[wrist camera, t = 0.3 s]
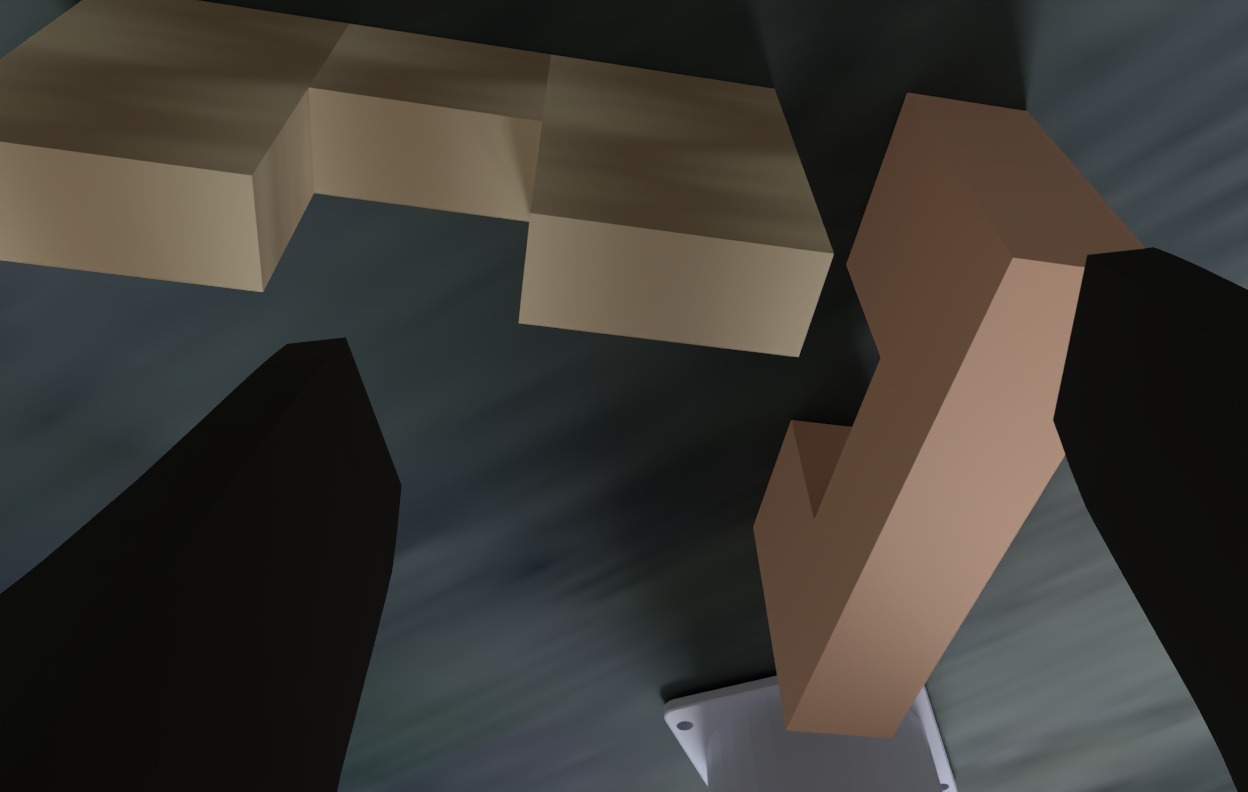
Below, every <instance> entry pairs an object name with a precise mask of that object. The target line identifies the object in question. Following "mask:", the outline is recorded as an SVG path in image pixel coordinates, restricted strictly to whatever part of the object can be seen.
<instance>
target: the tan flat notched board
mask: <svg viewBox="0 0 1248 792" xmlns="http://www.w3.org/2000/svg"><path fill="white" fill-rule="evenodd" d="M1144 248H1145V247H1144V246H1143V245H1142V244H1141V243H1140V241H1139V240H1138V239H1137V238H1136V237H1135V236H1134V234H1133V233H1132V232H1131V231H1130V230H1129V229H1128V227H1127V226H1126V225H1125V224H1124V223H1123V222H1122V220H1121V219H1120V218H1119V217H1118V216H1117V215H1116V213H1115V212H1114V211H1113V210H1112V209H1111V208H1110V207H1109V205H1108V204H1107V203H1106V202H1105V201H1104V200H1103V198H1102V197H1101V196H1100V195H1099V194H1098V193H1097V191H1096V190H1095V189H1094V188H1093V187H1092V186H1091V184H1090V183H1089V182H1088V181H1087V180H1086V179H1085V178H1084V176H1083V175H1082V174H1081V173H1080V172H1079V171H1078V169H1077V168H1076V167H1075V166H1074V165H1073V164H1072V162H1071V161H1070V160H1069V159H1068V158H1067V157H1066V155H1065V154H1064V153H1063V152H1062V151H1061V150H1060V149H1059V147H1058V146H1057V145H1056V144H1055V143H1054V142H1053V140H1052V139H1051V138H1050V137H1049V136H1048V135H1047V133H1046V132H1045V131H1044V130H1043V129H1042V128H1041V126H1040V125H1039V124H1038V123H1037V122H1036V121H1035V119H1034V118H1033V117H1032V116H1031V115H1030V114H1029V113H1028V111H1024V110H1017V109H1011V108H1004V107H998V106H991V105H985V104H979V103H972V102H966V101H959V100H953V99H946V98H940V97H934V96H927V95H921V94H914V93H908V92H907V94H906V97H905V100H904V103H903V106H902V109H901V111H900V114H899V117H898V120H897V123H896V125H895V128H894V131H893V134H892V137H891V140H890V142H889V145H888V148H887V151H886V154H885V156H884V159H883V162H882V165H881V168H880V171H879V173H878V176H877V179H876V182H875V185H874V187H873V190H872V193H871V196H870V199H869V202H868V204H867V207H866V210H865V213H864V216H863V218H862V221H861V224H860V227H859V230H858V233H857V235H856V238H855V241H854V244H853V247H852V250H851V252H850V255H849V258H848V261H847V264H846V266H847V269H848V271H849V274H850V277H851V279H852V282H853V285H854V287H855V290H856V293H857V295H858V298H859V301H860V303H861V306H862V309H863V311H864V314H865V317H866V320H867V322H868V325H869V328H870V330H871V333H872V336H873V338H874V341H875V344H876V346H877V349H878V352H879V354H880V357H881V358H880V361H879V363H878V365H877V368H876V370H875V373H874V375H873V378H872V380H871V382H870V385H869V387H868V390H867V392H866V395H865V397H864V400H863V402H862V404H861V407H860V409H859V412H858V414H857V417H856V419H855V421H854V424H853V426H852V427H848V426H840V425H831V424H822V423H813V422H805V421H796V420H791V421H790V424H789V427H788V430H787V433H786V436H785V438H784V441H783V444H782V447H781V450H780V452H779V455H778V458H777V461H776V464H775V467H774V469H773V472H772V475H771V478H770V481H769V483H768V486H767V489H766V492H765V495H764V498H763V500H762V503H761V506H760V509H759V512H758V514H757V517H756V520H755V523H754V526H753V530H754V536H755V542H756V548H757V555H758V561H759V567H760V573H761V579H762V585H763V592H764V598H765V604H766V610H767V616H768V623H769V629H770V635H771V641H772V647H773V654H774V660H775V666H776V672H777V678H778V685H779V691H780V697H781V703H782V709H783V716H784V722H785V728H786V730H787V731H800V732H813V733H826V734H839V735H852V736H865V737H878V738H892V737H893V735H894V733H895V732H896V730H897V728H898V727H899V725H900V724H901V722H902V720H903V719H904V717H905V715H906V714H907V712H908V710H909V709H910V707H911V706H912V704H913V702H914V701H915V699H916V697H917V696H918V694H919V693H920V691H921V689H922V688H923V686H924V684H925V683H926V681H927V679H928V678H929V676H930V675H931V673H932V671H933V670H934V668H935V666H936V665H937V663H938V661H939V660H940V658H941V657H942V655H943V653H944V652H945V650H946V648H947V647H948V645H949V644H950V642H951V640H952V639H953V637H954V635H955V634H956V632H957V630H958V629H959V627H960V626H961V624H962V622H963V621H964V619H965V617H966V616H967V614H968V612H969V611H970V609H971V608H972V606H973V604H974V603H975V601H976V599H977V598H978V596H979V595H980V593H981V591H982V590H983V588H984V586H985V585H986V583H987V581H988V580H989V578H990V577H991V575H992V573H993V572H994V570H995V568H996V567H997V565H998V563H999V562H1000V560H1001V559H1002V557H1003V555H1004V554H1005V552H1006V550H1007V549H1008V547H1009V546H1010V544H1011V542H1012V541H1013V539H1014V537H1015V536H1016V534H1017V532H1018V531H1019V529H1020V528H1021V526H1022V524H1023V523H1024V521H1025V519H1026V518H1027V516H1028V514H1029V513H1030V511H1031V510H1032V508H1033V506H1034V505H1035V503H1036V501H1037V500H1038V498H1039V497H1040V495H1041V493H1042V492H1043V490H1044V488H1045V487H1046V485H1047V483H1048V482H1049V480H1050V479H1051V477H1052V475H1053V474H1054V472H1055V470H1056V469H1057V467H1058V465H1059V464H1060V462H1061V461H1062V459H1063V457H1064V456H1065V452H1064V449H1063V446H1062V444H1061V441H1060V438H1059V435H1058V433H1057V430H1056V427H1055V424H1054V422H1053V417H1054V412H1055V408H1056V403H1057V398H1058V393H1059V388H1060V383H1061V379H1062V374H1063V369H1064V364H1065V359H1066V355H1067V350H1068V345H1069V340H1070V335H1071V331H1072V326H1073V321H1074V316H1075V311H1076V306H1077V302H1078V297H1079V292H1080V287H1081V282H1082V278H1083V273H1084V268H1085V263H1086V258H1087V255H1090V254H1099V253H1108V252H1117V251H1126V250H1135V249H1144Z"/></svg>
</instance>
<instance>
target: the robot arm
mask: <svg viewBox="0 0 1248 792" xmlns="http://www.w3.org/2000/svg"><path fill="white" fill-rule="evenodd" d="M1053 422H1054V424H1055V427H1056V430H1057V433H1058V435H1059V438H1060V441H1061V444H1062V446H1063V449H1064V452H1065V455H1066V458H1067V460H1068V463H1069V466H1070V469H1071V471H1072V474H1073V476H1074V479H1075V481H1076V484H1077V486H1078V489H1079V491H1080V493H1081V496H1082V498H1083V501H1084V503H1085V506H1086V508H1087V510H1088V512H1089V514H1090V515H1091V517H1092V519H1093V521H1094V523H1095V525H1096V527H1097V529H1098V530H1099V532H1100V534H1101V536H1102V538H1103V539H1104V541H1105V543H1106V545H1107V547H1108V548H1109V550H1110V552H1111V554H1112V556H1113V558H1114V559H1115V561H1116V563H1117V565H1118V567H1119V568H1120V570H1121V572H1122V574H1123V576H1124V577H1125V579H1126V581H1127V583H1128V584H1129V586H1130V588H1131V590H1132V592H1133V593H1134V595H1135V597H1136V599H1137V600H1138V602H1139V604H1140V606H1141V607H1142V609H1143V611H1144V613H1145V615H1146V616H1147V618H1148V620H1149V622H1150V623H1151V625H1152V627H1153V629H1154V630H1155V632H1156V634H1157V636H1158V638H1159V639H1160V641H1161V643H1162V645H1163V646H1164V648H1165V650H1166V652H1167V653H1168V655H1169V657H1170V659H1171V661H1172V662H1173V664H1174V666H1175V668H1176V669H1177V671H1178V673H1179V675H1180V676H1181V678H1182V680H1183V682H1184V684H1185V685H1186V687H1187V689H1188V691H1189V692H1190V694H1191V696H1192V698H1193V699H1194V701H1195V703H1196V705H1197V707H1198V709H1199V711H1200V713H1201V715H1202V717H1203V719H1204V721H1205V723H1206V724H1207V726H1208V728H1209V730H1210V732H1211V734H1212V736H1213V738H1214V740H1215V742H1216V744H1217V746H1218V748H1219V750H1220V752H1221V754H1222V757H1223V759H1224V761H1225V763H1226V766H1227V768H1228V770H1229V773H1230V775H1231V777H1232V780H1233V782H1234V784H1235V787H1236V789H1237V791H1238V792H1248V290H1247V289H1245V288H1243V287H1241V286H1239V285H1237V284H1235V283H1233V282H1231V281H1228V280H1226V279H1224V278H1222V277H1220V276H1218V275H1216V274H1214V273H1212V272H1210V271H1208V270H1206V269H1204V268H1201V267H1199V266H1197V265H1195V264H1193V263H1191V262H1188V261H1186V260H1184V259H1182V258H1179V257H1177V256H1175V255H1172V254H1170V253H1167V252H1165V251H1162V250H1160V249H1157V248H1154V247H1153V248H1144V249H1135V250H1126V251H1117V252H1108V253H1099V254H1090V255H1087V258H1086V263H1085V268H1084V273H1083V278H1082V282H1081V287H1080V292H1079V297H1078V302H1077V306H1076V311H1075V316H1074V321H1073V326H1072V331H1071V335H1070V340H1069V345H1068V350H1067V355H1066V359H1065V364H1064V369H1063V374H1062V379H1061V383H1060V388H1059V393H1058V398H1057V403H1056V408H1055V412H1054V417H1053ZM400 495H401V483H400V480H399V477H398V475H397V472H396V469H395V467H394V464H393V462H392V459H391V456H390V454H389V451H388V448H387V446H386V443H385V440H384V438H383V435H382V432H381V430H380V427H379V424H378V422H377V419H376V416H375V414H374V411H373V409H372V406H371V403H370V401H369V398H368V395H367V393H366V390H365V387H364V385H363V382H362V379H361V377H360V374H359V371H358V369H357V366H356V363H355V361H354V358H353V356H352V353H351V350H350V348H349V345H348V342H347V340H346V338H337V339H328V340H319V341H310V342H301V343H292V344H286V345H285V346H284V347H283V348H281V349H280V350H279V351H277V352H276V353H275V354H274V355H272V356H271V357H270V358H269V359H268V360H267V361H265V362H264V363H263V364H262V365H261V366H260V367H259V368H257V369H256V370H255V371H254V372H253V373H252V374H251V375H250V376H249V377H247V378H246V379H245V380H244V381H243V382H242V383H241V384H240V385H239V386H238V387H237V388H236V389H234V390H233V391H232V392H231V393H230V394H229V395H228V396H227V397H226V398H225V399H224V400H223V401H222V402H221V403H220V404H218V405H217V406H216V407H215V408H214V409H213V410H212V411H211V412H210V413H209V414H208V415H207V416H206V417H205V418H204V419H203V420H201V421H200V422H199V423H198V424H197V425H196V426H195V427H194V428H193V429H192V430H191V431H190V432H188V433H187V434H186V435H185V436H184V437H183V438H182V439H181V440H180V441H179V442H178V443H177V444H176V445H174V446H173V447H172V448H171V449H170V450H169V451H168V452H167V453H166V454H165V455H164V456H163V457H161V458H160V459H159V460H158V461H157V462H156V463H155V464H154V465H153V466H152V467H151V468H150V469H149V470H147V471H146V472H145V473H144V474H143V475H142V476H141V477H140V478H139V479H138V480H136V481H135V482H134V483H133V484H132V485H131V486H130V487H128V488H127V489H126V490H125V491H124V492H123V493H121V494H120V495H119V496H118V497H117V498H116V499H114V500H113V501H112V502H111V503H110V504H109V505H107V506H106V507H105V508H104V509H103V510H102V511H100V512H99V513H98V514H97V515H96V516H95V517H93V518H92V519H91V520H90V521H89V522H88V523H86V524H85V525H84V526H83V527H82V528H81V529H79V530H78V531H77V532H76V533H75V534H74V535H72V536H71V537H70V538H69V539H68V540H67V541H65V542H64V543H63V544H62V545H61V546H60V547H58V548H57V549H56V550H55V551H54V552H53V553H51V554H50V555H49V556H48V557H47V558H46V559H44V560H43V561H42V562H41V563H39V564H38V565H37V566H36V567H34V568H33V569H32V570H31V571H29V572H28V573H27V574H26V575H24V576H23V577H22V578H21V579H19V580H18V581H17V582H15V583H14V584H13V585H11V586H10V587H9V588H8V589H6V590H5V591H4V592H2V593H1V594H0V792H337V789H338V784H339V780H340V775H341V771H342V767H343V763H344V759H345V755H346V751H347V747H348V744H349V740H350V736H351V732H352V728H353V724H354V720H355V716H356V713H357V709H358V705H359V701H360V697H361V693H362V689H363V685H364V682H365V678H366V674H367V670H368V666H369V662H370V658H371V655H372V651H373V647H374V643H375V639H376V635H377V631H378V627H379V623H380V619H381V615H382V611H383V607H384V603H385V599H386V595H387V591H388V586H389V582H390V578H391V574H392V567H393V560H394V552H395V544H396V536H397V526H398V516H399V505H400ZM663 710H664V719H665V721H666V722H667V724H668V726H669V727H670V729H671V730H672V732H673V733H674V735H675V737H676V738H677V740H678V741H679V743H680V744H681V746H682V747H683V749H684V751H685V752H686V754H687V755H688V757H689V758H690V760H691V762H692V763H693V765H694V766H695V768H696V769H697V771H698V772H699V774H700V776H701V777H702V779H703V780H704V782H705V783H706V785H707V786H708V792H958V790H957V787H956V784H955V780H954V777H953V774H952V771H951V768H950V764H949V761H948V758H947V755H946V752H945V749H944V745H943V742H942V739H941V736H940V733H939V729H938V726H937V723H936V720H935V717H934V713H933V710H932V707H931V704H930V701H929V698H928V694H927V691H926V688H925V685H924V686H923V688H922V689H921V691H920V693H919V694H918V696H917V697H916V699H915V701H914V702H913V704H912V706H911V707H910V709H909V710H908V712H907V714H906V715H905V717H904V719H903V720H902V722H901V724H900V725H899V727H898V728H897V730H896V732H895V733H894V735H893V737H892V738H878V737H865V736H852V735H839V734H826V733H813V732H800V731H787V730H786V728H785V722H784V716H783V709H782V703H781V697H780V691H779V685H778V678H777V676H772V677H768V678H764V679H759V680H755V681H751V682H746V683H742V684H737V685H733V686H729V687H724V688H720V689H716V690H711V691H707V692H703V693H698V694H694V695H690V696H685V697H681V698H676V699H673V700H670V701H669V702H667V703H666V704H665V705H664V708H663Z"/></svg>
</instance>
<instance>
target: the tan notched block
mask: <svg viewBox="0 0 1248 792" xmlns="http://www.w3.org/2000/svg"><path fill="white" fill-rule="evenodd" d="M314 193H318V194H325V195H333V196H340V197H348V198H355V199H363V200H370V201H378V202H385V203H393V204H400V205H408V206H415V207H423V208H430V209H438V210H445V211H453V212H460V213H468V214H475V215H483V216H490V217H498V218H505V219H513V220H520V221H528V222H529V231H528V240H527V249H526V258H525V268H524V277H523V286H522V295H521V305H520V314H519V323H521V324H529V325H538V326H546V327H554V328H562V329H571V330H579V331H587V332H595V333H603V334H612V335H620V336H628V337H636V338H645V339H653V340H661V341H669V342H677V343H686V344H694V345H702V346H710V347H719V348H727V349H735V350H743V351H751V352H760V353H768V354H776V355H784V356H793V357H799V355H800V352H801V349H802V346H803V343H804V340H805V337H806V334H807V331H808V328H809V326H810V323H811V320H812V317H813V314H814V311H815V308H816V305H817V302H818V299H819V296H820V293H821V291H822V288H823V285H824V282H825V279H826V276H827V273H828V270H829V267H830V264H831V261H832V258H833V256H834V252H833V250H832V247H831V244H830V241H829V239H828V236H827V233H826V230H825V227H824V225H823V222H822V219H821V216H820V214H819V211H818V208H817V205H816V202H815V200H814V197H813V194H812V191H811V189H810V186H809V183H808V180H807V177H806V175H805V172H804V169H803V166H802V164H801V161H800V158H799V155H798V153H797V150H796V147H795V144H794V141H793V139H792V136H791V133H790V130H789V128H788V125H787V122H786V119H785V116H784V114H783V111H782V108H781V105H780V103H779V100H778V97H777V94H776V92H775V89H773V88H766V87H760V86H753V85H747V84H740V83H734V82H727V81H721V80H714V79H708V78H701V77H695V76H688V75H682V74H675V73H668V72H662V71H655V70H649V69H642V68H636V67H629V66H623V65H616V64H610V63H603V62H597V61H590V60H584V59H577V58H571V57H564V56H558V55H551V54H545V53H538V52H532V51H525V50H519V49H512V48H505V47H499V46H492V45H486V44H479V43H473V42H466V41H460V40H453V39H447V38H440V37H434V36H427V35H421V34H414V33H408V32H401V31H395V30H388V29H382V28H375V27H369V26H362V25H356V24H349V23H342V22H336V21H329V20H323V19H316V18H310V17H303V16H297V15H290V14H284V13H277V12H271V11H264V10H258V9H251V8H245V7H238V6H232V5H225V4H219V3H212V2H206V1H199V0H82V1H81V2H79V3H78V4H76V5H75V6H74V7H72V8H71V9H69V10H68V11H67V12H65V13H64V14H62V15H61V16H60V17H58V18H57V19H55V20H54V21H53V22H51V23H50V24H48V25H47V26H46V27H44V28H43V29H42V30H40V31H39V32H37V33H36V34H35V35H33V36H32V37H30V38H29V39H28V40H26V41H25V42H23V43H22V44H21V45H19V46H18V47H16V48H15V49H14V50H12V51H11V52H9V53H8V54H7V55H5V56H4V57H2V58H1V59H0V260H3V261H12V262H20V263H28V264H36V265H44V266H53V267H61V268H69V269H77V270H86V271H94V272H102V273H110V274H118V275H127V276H135V277H143V278H151V279H160V280H168V281H176V282H184V283H192V284H201V285H209V286H217V287H225V288H234V289H242V290H250V291H258V292H263V291H264V289H265V287H266V285H267V283H268V281H269V279H270V277H271V276H272V274H273V272H274V270H275V268H276V266H277V264H278V262H279V260H280V258H281V256H282V254H283V252H284V250H285V248H286V246H287V244H288V243H289V241H290V239H291V237H292V235H293V233H294V231H295V229H296V227H297V225H298V223H299V221H300V219H301V217H302V215H303V213H304V211H305V209H306V208H307V206H308V204H309V202H310V200H311V198H312V196H313V194H314Z"/></svg>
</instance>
